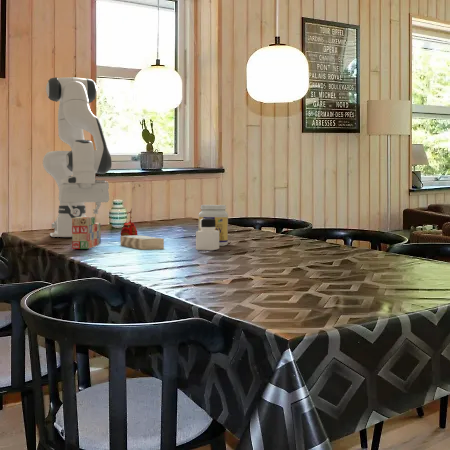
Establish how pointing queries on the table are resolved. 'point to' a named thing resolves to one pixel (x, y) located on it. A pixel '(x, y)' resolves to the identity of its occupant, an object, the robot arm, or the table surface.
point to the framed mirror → (142, 242)
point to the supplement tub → (217, 220)
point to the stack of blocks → (85, 233)
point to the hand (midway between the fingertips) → (84, 213)
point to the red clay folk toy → (129, 228)
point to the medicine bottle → (207, 235)
